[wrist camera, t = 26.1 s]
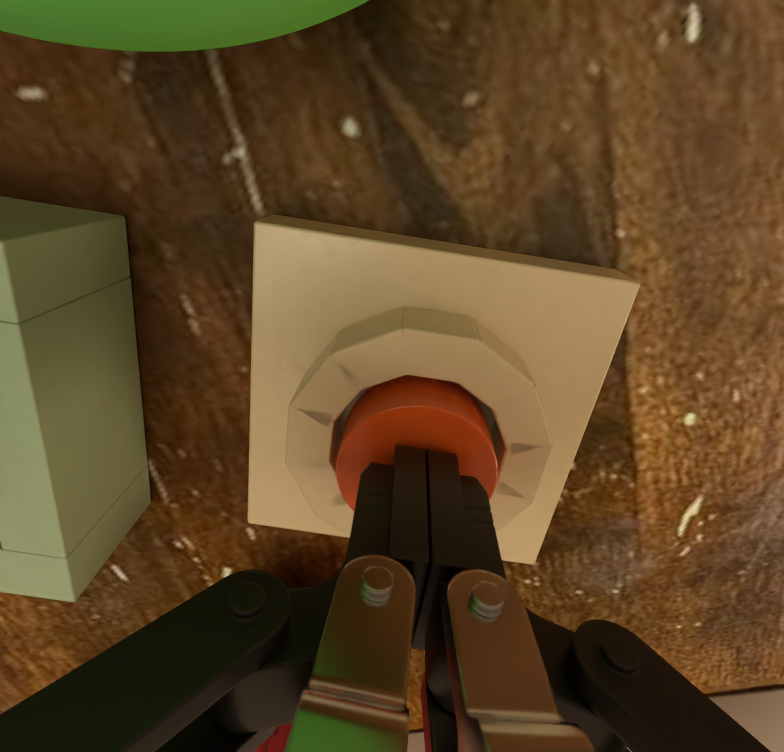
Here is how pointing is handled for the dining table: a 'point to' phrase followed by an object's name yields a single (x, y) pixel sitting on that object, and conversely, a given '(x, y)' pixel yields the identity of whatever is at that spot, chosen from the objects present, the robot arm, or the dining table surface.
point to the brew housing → (421, 361)
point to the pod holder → (66, 398)
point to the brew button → (415, 430)
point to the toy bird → (164, 21)
